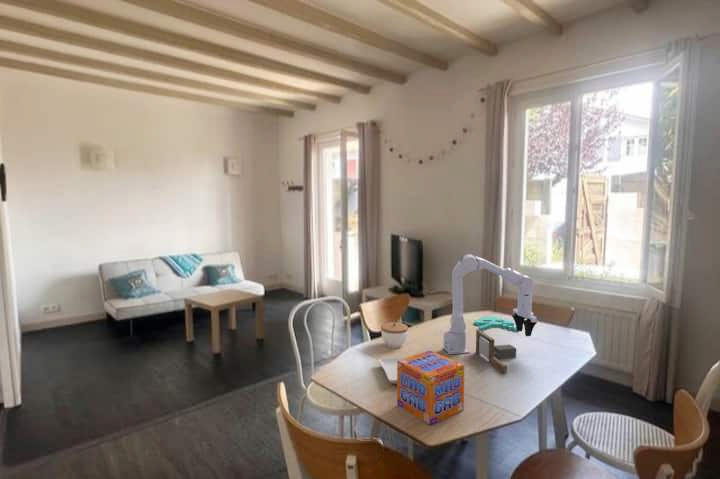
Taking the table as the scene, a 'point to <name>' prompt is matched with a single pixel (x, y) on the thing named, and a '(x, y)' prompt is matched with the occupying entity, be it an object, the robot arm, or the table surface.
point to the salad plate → (390, 367)
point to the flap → (484, 347)
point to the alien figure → (494, 323)
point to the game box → (430, 386)
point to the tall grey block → (504, 351)
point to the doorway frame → (490, 351)
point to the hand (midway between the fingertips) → (523, 333)
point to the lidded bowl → (394, 334)
